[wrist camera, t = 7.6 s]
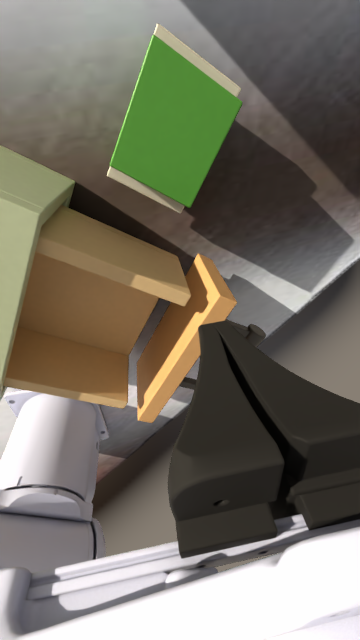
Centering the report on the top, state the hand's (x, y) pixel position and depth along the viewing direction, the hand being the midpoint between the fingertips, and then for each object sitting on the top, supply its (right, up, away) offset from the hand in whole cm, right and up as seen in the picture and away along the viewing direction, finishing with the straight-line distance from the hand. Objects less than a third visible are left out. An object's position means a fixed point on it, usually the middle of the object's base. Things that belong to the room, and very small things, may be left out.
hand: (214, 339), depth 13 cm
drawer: (-5, +2, +8) cm, 10 cm away
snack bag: (-2, +12, +3) cm, 12 cm away
